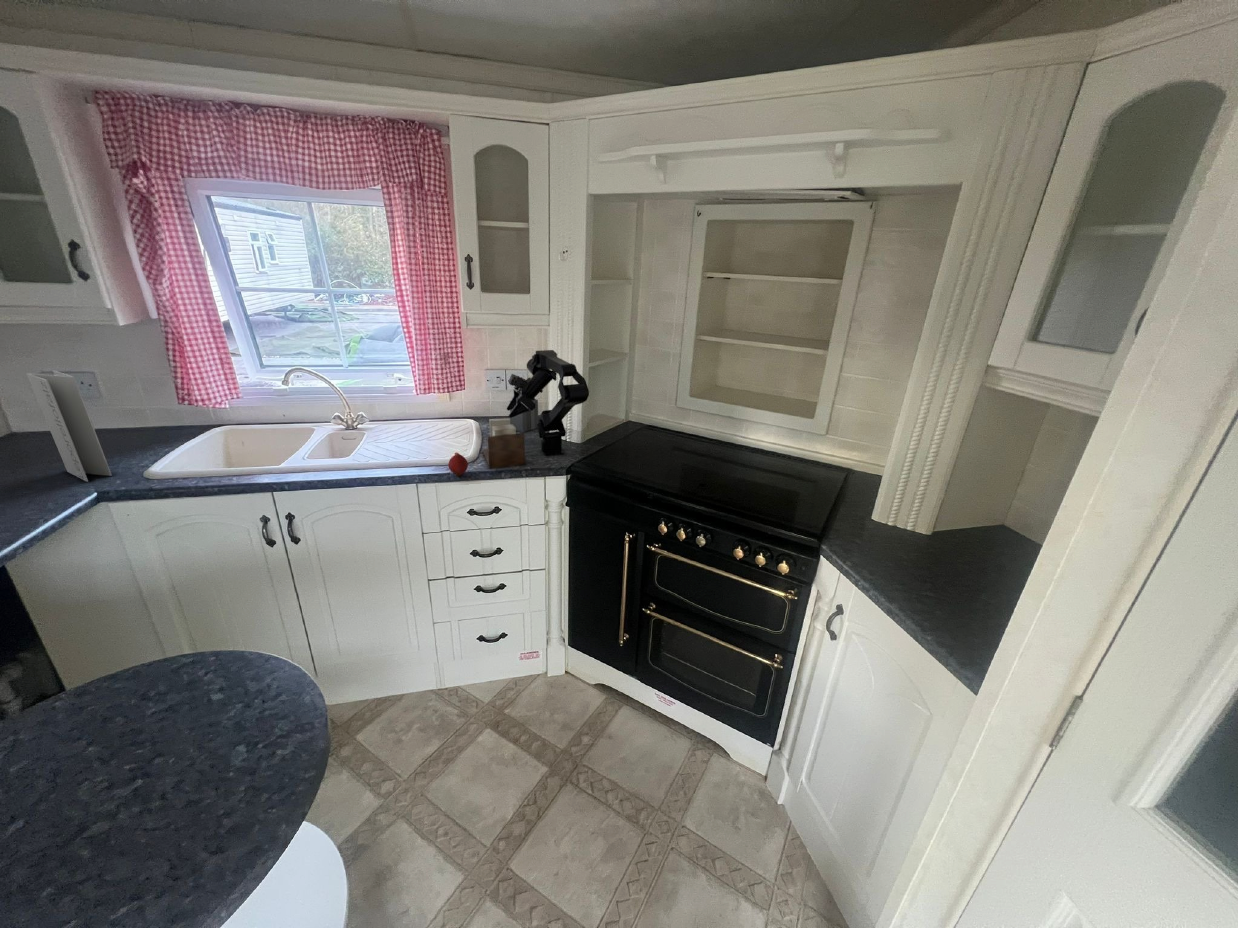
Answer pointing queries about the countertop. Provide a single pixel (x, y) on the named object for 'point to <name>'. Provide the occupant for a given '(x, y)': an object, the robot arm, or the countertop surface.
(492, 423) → the white book
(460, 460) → the onion
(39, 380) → the brochure
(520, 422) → the grey books
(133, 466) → the countertop surface
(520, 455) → the cream-topped brown block
